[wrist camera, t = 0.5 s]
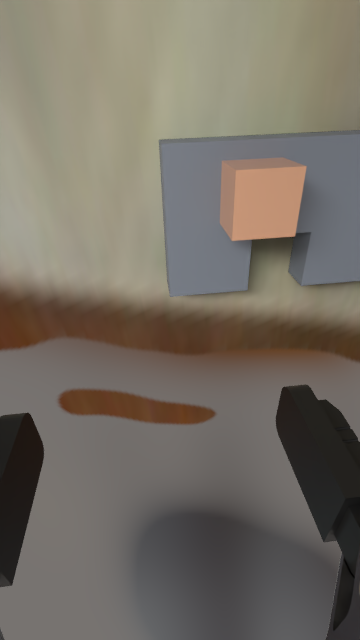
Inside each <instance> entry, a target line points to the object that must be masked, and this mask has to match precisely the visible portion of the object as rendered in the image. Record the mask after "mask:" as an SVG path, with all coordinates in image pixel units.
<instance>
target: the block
mask: <svg viewBox="0 0 360 640" xmlns="http://www.w3.org/2000/svg"><path fill="white" fill-rule="evenodd" d="M306 167H307V166H305V165H302V164H299V163H297V162H294V161H291V160H289V159H286V158H283V157H281V158H263V159H244V160H225V161H222V172H221V201H220V224H221V226H222V227H223V229H224V230H225V232H226V233H227V234H228V236H229V237H230V239H231V240H232V241H238V240H252V239H266V238H279V237H293V236H295V234H296V228H297V222H298V216H299V210H300V204H301V198H302V192H303V186H304V179H305V173H306Z"/></svg>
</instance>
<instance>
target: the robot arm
mask: <svg viewBox="0 0 360 640" xmlns="http://www.w3.org/2000/svg"><path fill="white" fill-rule="evenodd" d="M276 427H277V432H278V435H279V438H280V440H281V442H282V445H283V447H284V449H285V451H286V454H287V456H288V459H289V461H290V464H291V466H292V468H293V471H294V473H295V475H296V478H297V480H298V483H299V485H300V487H301V490H302V492H303V494H304V497H305V499H306V501H307V504H308V506H309V509H310V511H311V513H312V516H313V518H314V520H315V523H316V525H317V528H318V530H319V532H320V535H321V537H322V539H323V542H329V541H337V542H338V544H339V546H340V549H341V551H342V554H341V558H340V564H339V569H338V576H337V582H336V587H335V593H334V599H333V605H332V611H331V616H330V622H329V628H328V632H327V636H326V639H325V640H360V442H359V441H358V438H357V436H356V435H355V433H354V432H353V430H352V429H350V426H349V424H348V423H347V421H346V419H345V418H344V416H343V415H342V413H341V412H340V411H339V410H338V409H337V408H336V407H334V406H333V405H332V404H331V403H329V402H328V401H327V400H317V398H316V397H315V395H314V393H313V391H312V390H311V388H310V387H309V386H308V385H298V386H289V387H283V388H282V391H281V396H280V401H279V406H278V410H277V415H276ZM43 458H44V448H43V443H42V440H41V438H40V435H39V433H38V431H37V428H36V426H35V424H34V421H33V419H32V417H31V415H30V414H29V413H22V414H12V415H3V416H1V417H0V587H5V586H11V585H12V583H13V579H14V576H15V571H16V567H17V563H18V560H19V556H20V552H21V548H22V544H23V540H24V536H25V531H26V528H27V524H28V520H29V516H30V511H31V508H32V504H33V500H34V496H35V492H36V488H37V484H38V480H39V476H40V472H41V468H42V464H43ZM0 640H5V639H4V637H3V634H2V632H1V629H0Z"/></svg>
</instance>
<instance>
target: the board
mask: <svg viewBox="0 0 360 640" xmlns="http://www.w3.org/2000/svg"><path fill="white" fill-rule="evenodd" d="M159 150H160V167H161V183H162V200H163V216H164V233H165V250H166V266H167V282H168V288H169V293H170V297H173V296H184V295H196V294H208V293H220V292H232V291H244V290H247V289H248V278H249V267H250V256H251V245H252V240H238V241H232V240H231V239H230V237H229V236H228V234H227V233H226V232H225V230H224V229H223V227H222V226H221V224H220V201H221V172H222V161H225V160H244V159H263V158H281V157H283V158H286V159H289V160H291V161H294V162H297V163H299V164H302V165H305V166H307V167H306V173H305V179H304V186H303V192H302V198H301V204H300V210H299V216H298V222H297V228H296V234H295V236H294V240H293V246H292V252H291V258H290V265H289V271H288V272H289V273H290V274H291V275H292V276H293V277H294V279H295V280H296V281H297V282H298V283H299V284H300V285H301V286H303V285H315V284H327V283H339V282H351V281H360V130H351V131H331V132H310V133H289V134H268V135H247V136H227V137H206V138H185V139H164V140H159Z"/></svg>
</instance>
